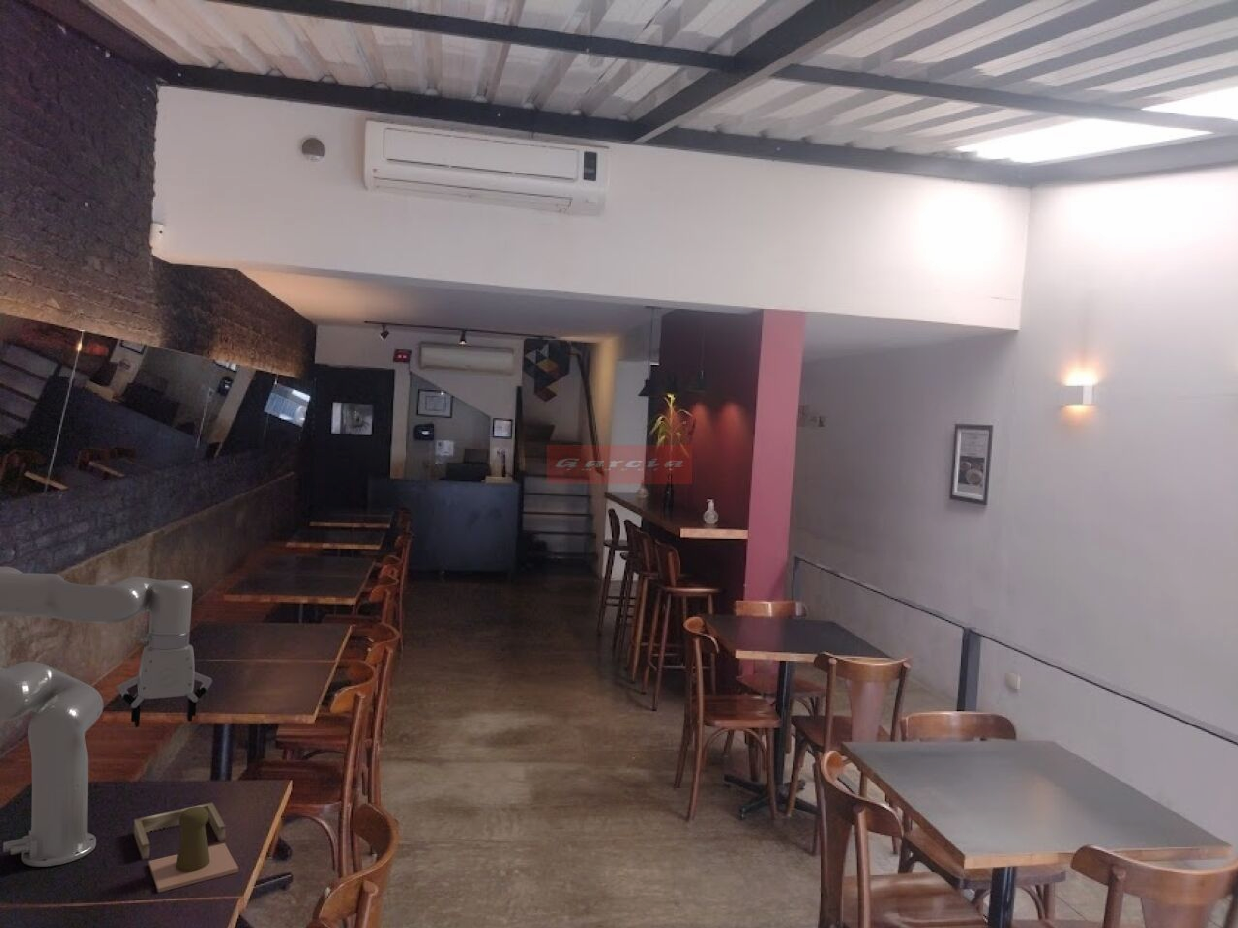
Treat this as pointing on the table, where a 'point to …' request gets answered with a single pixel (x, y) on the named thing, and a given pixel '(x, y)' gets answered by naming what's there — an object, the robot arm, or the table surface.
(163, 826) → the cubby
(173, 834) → the table surface
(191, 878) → the tile
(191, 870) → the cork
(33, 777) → the robot arm
